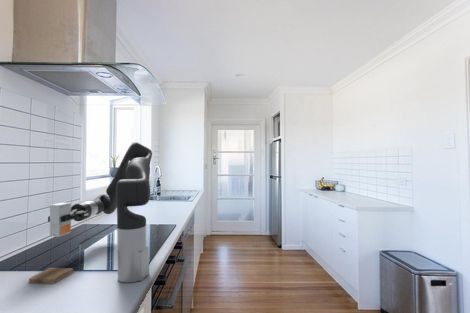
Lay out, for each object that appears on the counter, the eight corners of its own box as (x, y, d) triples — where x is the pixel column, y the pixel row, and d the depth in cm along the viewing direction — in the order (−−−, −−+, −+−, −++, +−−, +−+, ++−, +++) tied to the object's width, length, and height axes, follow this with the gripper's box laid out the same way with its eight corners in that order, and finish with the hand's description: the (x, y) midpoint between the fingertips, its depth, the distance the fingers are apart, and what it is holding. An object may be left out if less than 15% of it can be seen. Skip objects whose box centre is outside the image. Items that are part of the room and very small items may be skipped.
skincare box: (59, 237, 104) (58, 205, 104) (49, 236, 105) (49, 205, 105) (71, 232, 110) (71, 202, 110) (62, 232, 111) (62, 202, 111)
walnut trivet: (73, 271, 99) (73, 268, 99) (54, 283, 90) (54, 279, 90) (49, 271, 100) (49, 267, 100) (28, 282, 91) (28, 278, 91)
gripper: (69, 202, 122) (37, 209, 105) (99, 202, 121) (72, 209, 104) (69, 219, 122) (37, 229, 105) (99, 219, 121) (72, 229, 104)
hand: (55, 219), depth 105 cm, fingers closed on skincare box, 4 cm apart
